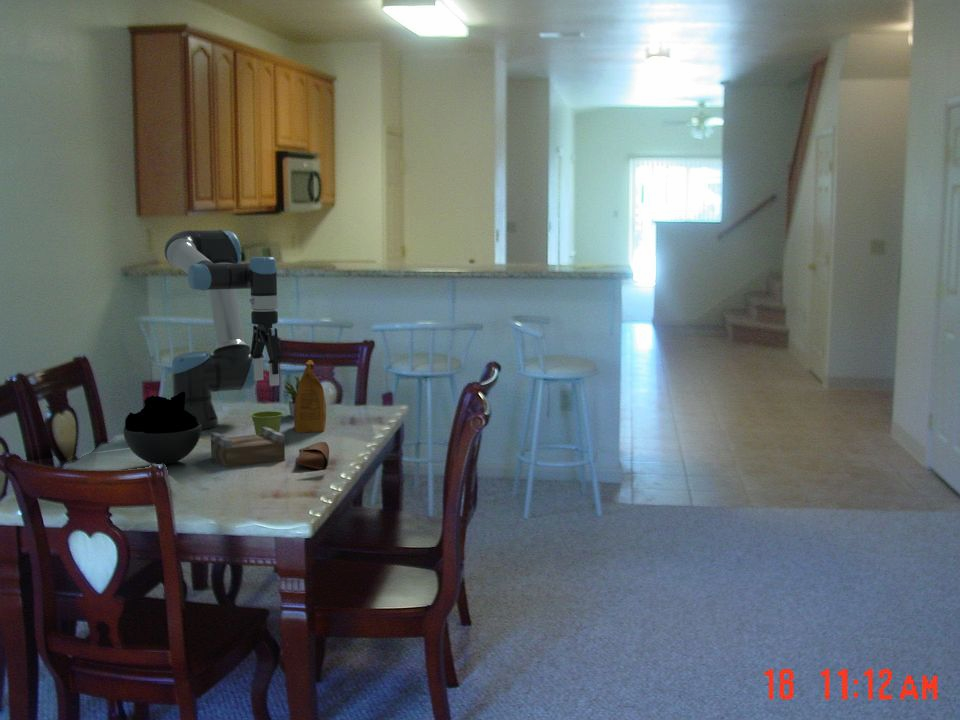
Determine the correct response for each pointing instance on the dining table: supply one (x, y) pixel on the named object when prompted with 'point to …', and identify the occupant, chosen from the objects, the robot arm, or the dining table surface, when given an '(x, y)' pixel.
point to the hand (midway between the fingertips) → (266, 382)
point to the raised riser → (248, 448)
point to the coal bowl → (162, 430)
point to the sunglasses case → (314, 456)
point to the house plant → (292, 393)
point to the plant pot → (266, 420)
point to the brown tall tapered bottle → (309, 403)
